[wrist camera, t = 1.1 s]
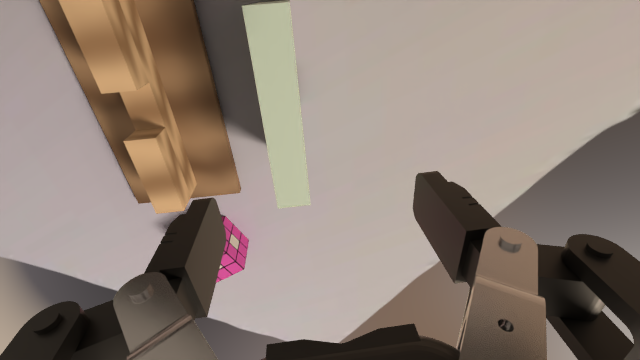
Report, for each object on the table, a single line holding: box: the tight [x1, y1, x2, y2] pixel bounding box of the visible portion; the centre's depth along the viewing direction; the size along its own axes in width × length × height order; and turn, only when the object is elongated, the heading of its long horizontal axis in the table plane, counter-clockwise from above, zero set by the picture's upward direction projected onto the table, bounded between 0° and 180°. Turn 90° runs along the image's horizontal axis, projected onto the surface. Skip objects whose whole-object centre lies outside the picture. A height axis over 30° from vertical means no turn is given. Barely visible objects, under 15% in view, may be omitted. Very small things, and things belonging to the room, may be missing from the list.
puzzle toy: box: [216, 216, 249, 283], centre depth 41 cm, size 6×6×6 cm
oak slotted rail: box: [39, 0, 241, 214], centre depth 30 cm, size 26×13×6 cm, turn 4°
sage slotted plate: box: [242, 0, 311, 208], centre depth 28 cm, size 16×3×12 cm, turn 4°
